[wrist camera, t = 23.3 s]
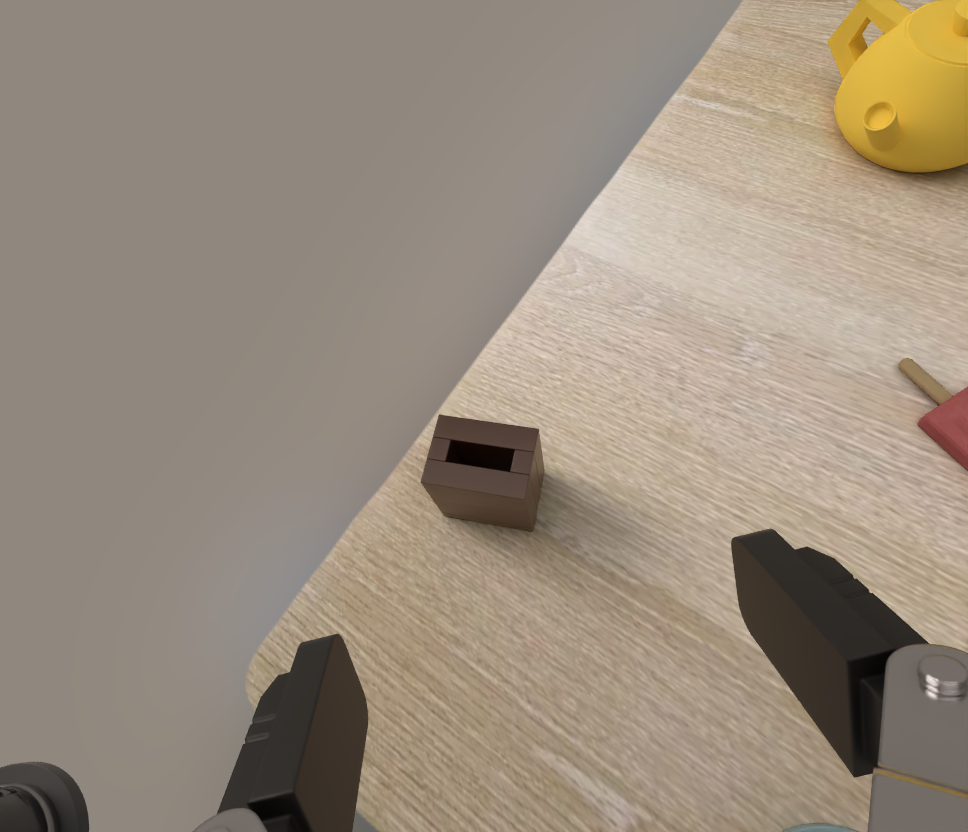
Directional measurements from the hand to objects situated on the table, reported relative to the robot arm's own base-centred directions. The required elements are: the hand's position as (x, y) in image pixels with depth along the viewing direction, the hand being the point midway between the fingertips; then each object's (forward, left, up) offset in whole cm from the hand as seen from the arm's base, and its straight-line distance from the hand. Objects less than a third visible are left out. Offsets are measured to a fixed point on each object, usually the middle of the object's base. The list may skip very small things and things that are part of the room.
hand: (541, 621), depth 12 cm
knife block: (+12, +8, -33) cm, 36 cm away
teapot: (+52, -22, -33) cm, 66 cm away
